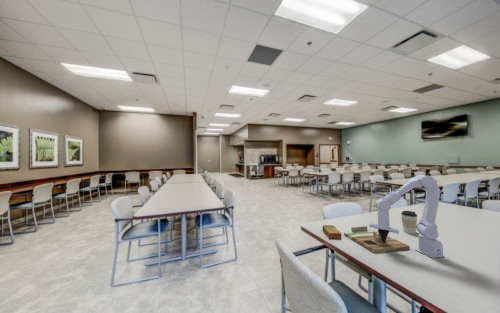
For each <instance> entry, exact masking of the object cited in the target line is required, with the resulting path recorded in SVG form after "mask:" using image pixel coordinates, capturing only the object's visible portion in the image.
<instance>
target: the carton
mask: <svg viewBox="0 0 500 313" xmlns="http://www.w3.org/2000/svg"><path fill="white" fill-rule="evenodd" d="M322 231H323V233H324V234H325V235H326V237H328V239H329V240H330V239H331V240H342V232H341V231H339V230H338V229H337V228H336V227H335V225H330V224H329V225H327V224H326V225H322Z"/></svg>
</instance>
